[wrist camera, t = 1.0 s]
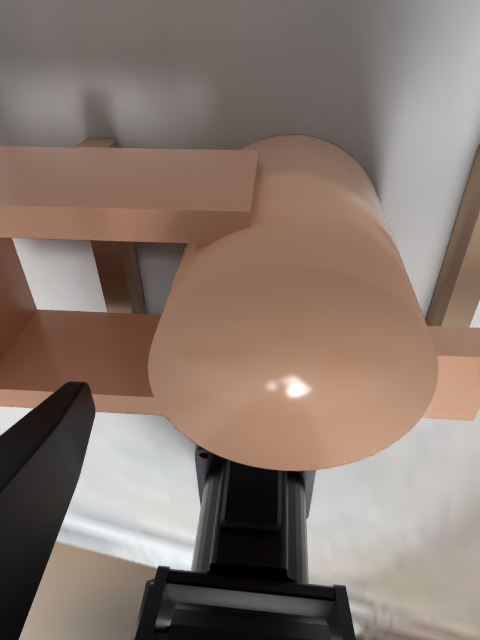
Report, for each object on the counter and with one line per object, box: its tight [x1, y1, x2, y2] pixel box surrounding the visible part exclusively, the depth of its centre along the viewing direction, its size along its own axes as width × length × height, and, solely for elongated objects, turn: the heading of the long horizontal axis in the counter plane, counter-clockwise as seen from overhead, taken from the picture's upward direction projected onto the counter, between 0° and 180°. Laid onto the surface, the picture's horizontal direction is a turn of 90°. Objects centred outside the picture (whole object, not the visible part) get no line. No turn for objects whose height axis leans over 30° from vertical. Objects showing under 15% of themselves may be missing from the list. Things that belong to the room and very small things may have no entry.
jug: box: [0, 135, 480, 471], centre depth 14 cm, size 14×7×8 cm, turn 91°
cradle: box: [78, 138, 480, 328], centre depth 17 cm, size 10×14×2 cm
